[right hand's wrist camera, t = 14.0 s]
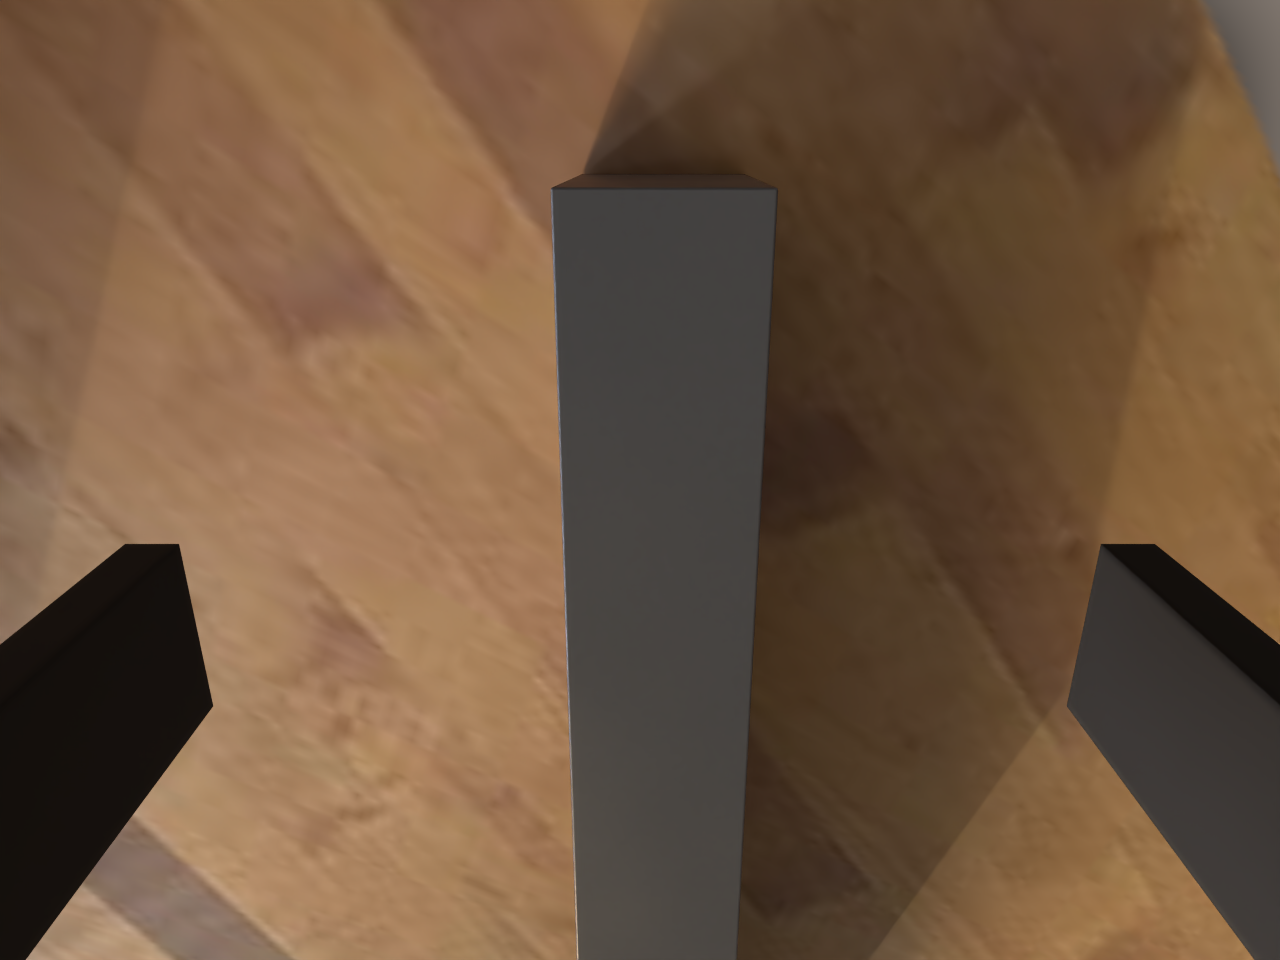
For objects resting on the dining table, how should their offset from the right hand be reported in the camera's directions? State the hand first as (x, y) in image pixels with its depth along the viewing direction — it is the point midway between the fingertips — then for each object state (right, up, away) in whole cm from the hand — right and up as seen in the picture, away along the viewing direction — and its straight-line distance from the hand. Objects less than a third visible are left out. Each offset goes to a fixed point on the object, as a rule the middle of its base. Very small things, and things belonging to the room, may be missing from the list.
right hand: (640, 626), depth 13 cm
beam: (+1, -12, +25) cm, 28 cm away
